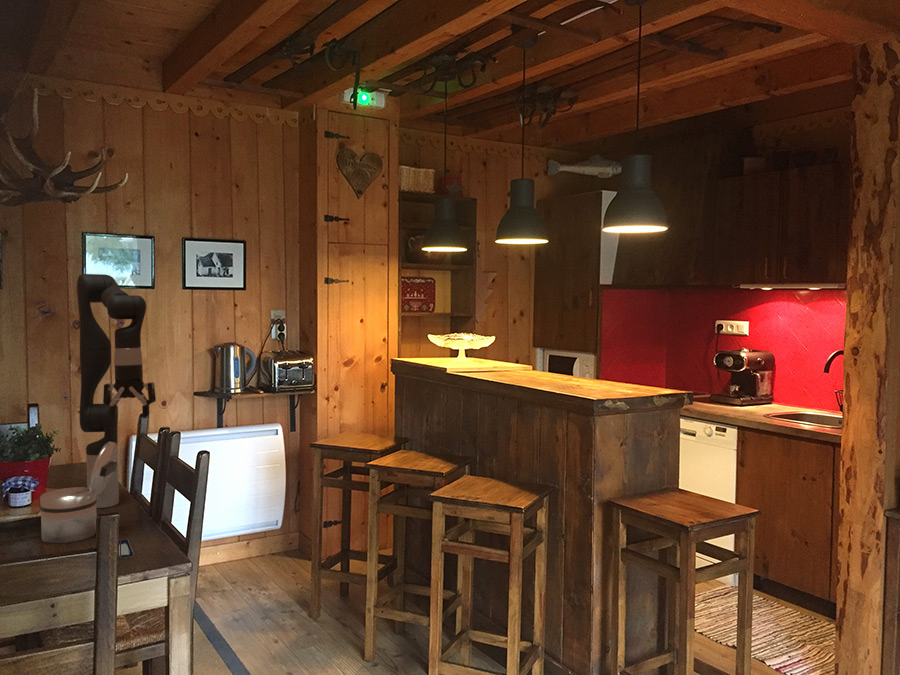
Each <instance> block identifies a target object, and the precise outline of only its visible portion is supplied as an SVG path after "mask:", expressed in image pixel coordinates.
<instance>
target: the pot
mask: <svg viewBox="0 0 900 675" xmlns="http://www.w3.org/2000/svg"><path fill="white" fill-rule="evenodd" d="M39 499H40V500H39V502H40V503H39V504H40V505H39V510H40V521H41V522H40V523H41V525H40V526H41V540H42V541H43V542H45V543H49V544H64V543H65V544H66V543H72V542H77V541H82V540H85V539H88V538H91V537H93V536H95V535H96V534H95V529H96V519H97V516H98V515H97V508H96V503H97V498H96V494H93V493H91V492H90V488H88V487H86V486H85V487H84V486H79V487H78V486H77V487H76V486H75V487H66V488H64V487H63V488H58V489H54V490H49V491H46V492H43V493H42V494H41V495H40V496H39Z"/></svg>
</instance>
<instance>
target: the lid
mask: <svg viewBox="0 0 900 675" xmlns="http://www.w3.org/2000/svg"><path fill="white" fill-rule="evenodd" d="M118 452H119V450H118V443H117V444H116V443H115V442H107V443H106V444H105V445H104V446H103V448H102V449H101V451H100V452H99V454H98V456H97V458H96V461H95V463H94V466H93V469H92V472H91V477H90V485H89V486H90V492H91V493H93V494H97V495H98V494H100V493H101V492H102V491H103V490H104V489H105V487H106V486H107V484H108V482H109V480H110V478H111V476H112V473H113V472H114V471H115V470H116V467H117V463H118V464H119V461H118V462H116V460H117V455H118Z"/></svg>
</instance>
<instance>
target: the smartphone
mask: <svg viewBox="0 0 900 675" xmlns="http://www.w3.org/2000/svg"><path fill="white" fill-rule="evenodd" d="M118 540H119V560H118V561H120V540H121V558H126V557H131V556H134V557H135V552H134V550H133V548H132V545H131V543H130V540H129V539H128V538H126V539H125V538H124V539H118Z"/></svg>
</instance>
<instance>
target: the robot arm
mask: <svg viewBox="0 0 900 675" xmlns="http://www.w3.org/2000/svg"><path fill="white" fill-rule="evenodd" d="M76 294H77V306H78V317H79V362H80V364H79V365H80V366H79V369H80V400H79V401H80V402H79V426H80V429H81V431H83V432H84V433H104V434H103V437H102V438H101V439H100V438H99V440H96V441H92V442H91V443H88V444H87V445H86V447H85V452H86V453H85V454H86V455H85V457H86V459H85V460H86V482H87V483H86V484H87V485H86V486H87V487H88V488H90V486H89V485H90V477H91V472H92V469H93V466H94V463H95V461H96V458H97V456H98V454H99V452H100V451H101V449H102V448H103V446H104V445H105V444H106V443H107V442H115V443H116V444H117V445H118V436H119V434H118V432H119V431H118V429H119V427H118V425H119V424H118V423H119V406H118V405H117V404H118V403H119V402H120V401H121V400H122V399H127V398H129V399H134V398H136V399H137V400H138V401H140V403H141V404H142V405H141V406H142V408H141V409H142V412H141V413H142V419H148V417H149V415H150V404H154V403H155V402H156V401H157V398H156V389H155V388H156V387H155V383H154V382H153V381H151V382H147V383H144V380H143V379H144V377H143V376H144V375H143V373H144V372H143V351H142V347H141V345H142V344H141V343H142V340H141V339H142V337H141V334H142V333H141V332H142V327H143V323H144V319H145V316H146V312H147V302H146V300H145V298H144V297H142V295H135V294H134V295H129V294H128V293H127V292H126V291H124V290H122V289H121V287H120V285H119V284H118V282H117V281H116V280H115V278H114V277H113V276H111V275H110V274H103V273H98V274H97V273H82V274H81V273H80V274H79V275H78V277H77V281H76ZM92 303H96V304H97V303H98V304H99V303H100V304H101V303H102V305H103V306H104V307H105V308H106V311H107V314H108V316H109V317H110V318H111V319H113V320H131V322H130V324H129V325H127V326H124V327H120V328H119V327H118V328H116V329H115V331H114V358H113V359H114V360H113V363H114V380H115V382H114V383H108V382H107V383H105V384H103V399H102V403H94V398H95V393H96V390H97V388H98V386H99V384H100V382H101V381H102V380H103V378H104V376H105V375H106V374H107V372H108V371H109V369H110V366H111V364H112V344H111V341H110V339H109V337H108V336H107V334H106V332H105V331H104V330H103V328H102V327H101V326H100V324H99V323H98V321H97V320H96V318H95V316H94V314H93V310H92V306H91V304H92ZM144 388H145V390H146V391H147V397H146V394H145V393H144V392H143V390H144ZM113 390H115V392H116V394H115V395H114V396H113V397H112V391H113ZM112 398H113V399H112ZM118 457H119V456H118V454H117V460H116V462H118V463H117V467H116V470H115V471H114V472H113V473H112V476H111V478H110V480H109V482H108V484H107V486H106V487H105V489H104V490H103V491H102V492H101V493H100V494H98V495H97V494H96V498H97V503H96V509H103V508H110V507H115V506H116V505H118V504H120V494H119V493H120V492H119V488H120V486H119V461H118V459H119V458H118Z"/></svg>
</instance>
